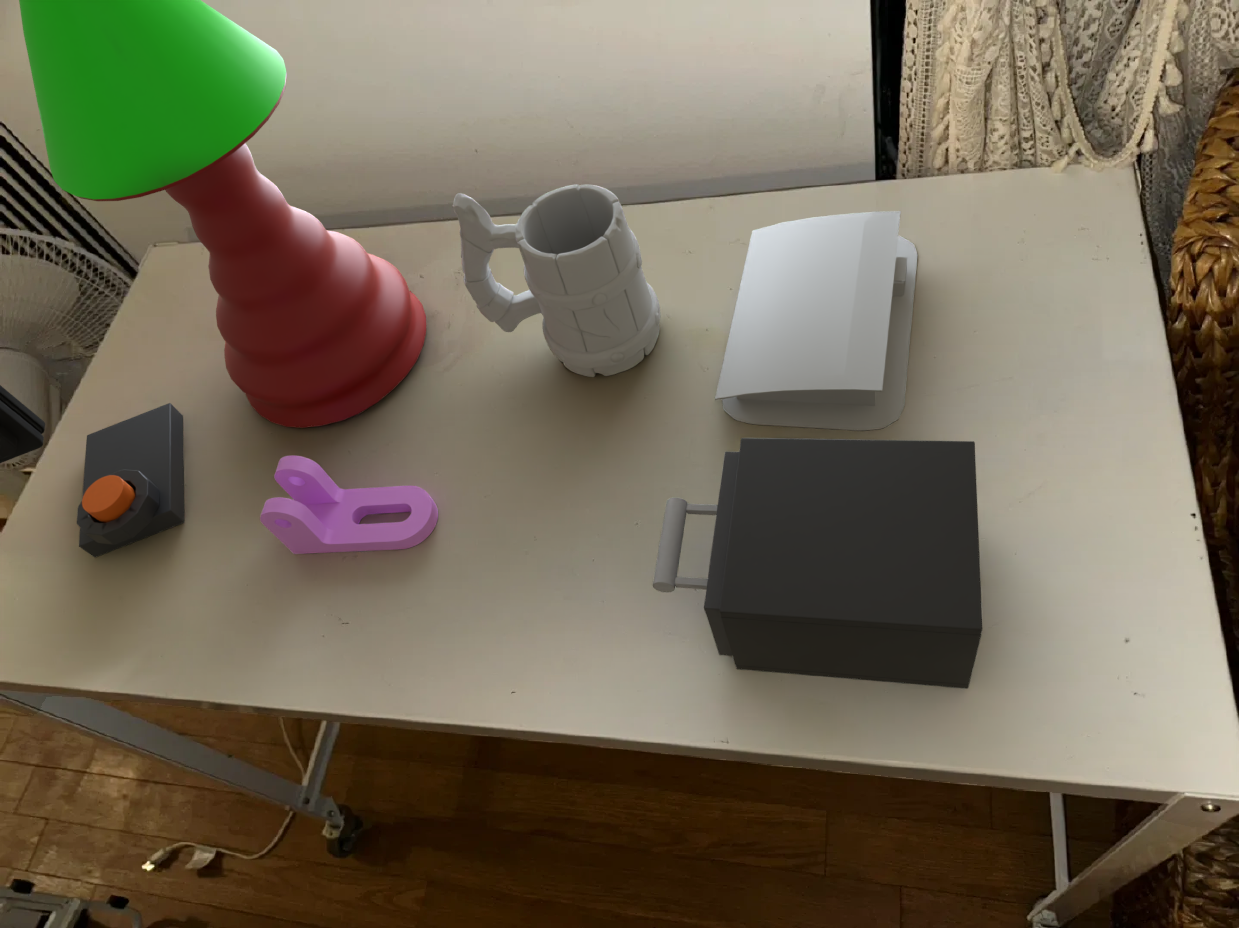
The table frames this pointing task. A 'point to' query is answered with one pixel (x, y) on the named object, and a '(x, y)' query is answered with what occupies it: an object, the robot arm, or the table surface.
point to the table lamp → (221, 195)
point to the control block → (136, 478)
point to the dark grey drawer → (713, 584)
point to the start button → (108, 498)
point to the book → (822, 324)
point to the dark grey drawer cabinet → (855, 560)
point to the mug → (567, 277)
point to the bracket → (343, 512)
